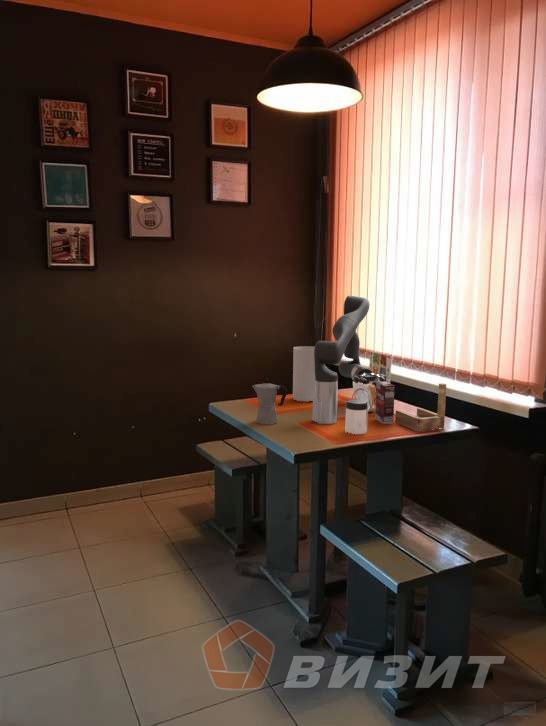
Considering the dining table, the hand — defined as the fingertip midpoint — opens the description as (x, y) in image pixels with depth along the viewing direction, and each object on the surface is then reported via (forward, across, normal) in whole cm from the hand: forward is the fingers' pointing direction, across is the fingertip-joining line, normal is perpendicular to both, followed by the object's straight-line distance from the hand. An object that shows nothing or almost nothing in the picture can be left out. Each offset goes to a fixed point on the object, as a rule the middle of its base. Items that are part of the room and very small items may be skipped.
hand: (375, 381), depth 258 cm
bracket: (+21, +11, +14) cm, 27 cm away
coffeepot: (+5, -48, +14) cm, 50 cm away
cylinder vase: (-33, -22, +15) cm, 42 cm away
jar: (+25, -17, +14) cm, 33 cm away
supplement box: (+12, 0, +14) cm, 19 cm away
